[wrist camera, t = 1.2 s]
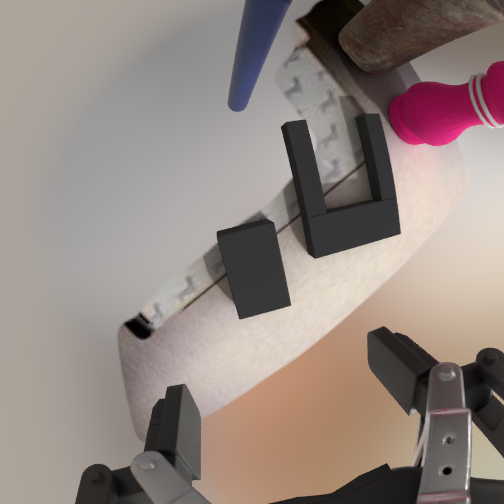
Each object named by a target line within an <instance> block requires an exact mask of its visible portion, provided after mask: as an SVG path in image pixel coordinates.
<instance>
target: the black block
mask: <svg viewBox="0 0 504 504" xmlns="http://www.w3.org/2000/svg"><path fill="white" fill-rule="evenodd" d="M217 240H218V244H219V247H220V251H221V255H222V259H223V262H224V266H225V270H226V273H227V277H228V281H229V284H230V288H231V292H232V295H233V299H234V302H235V306H236V309H237V313H238V316H239V319H244V318H248V317H251V316H255V315H259V314H263V313H266V312H270V311H273V310H277V309H280V308H284V307H287V306H291V302H290V297H289V292H288V287H287V282H286V277H285V272H284V267H283V263H282V258H281V253H280V248H279V244H278V239H277V234H276V230H275V225H274V222H272V221H270V220H268V219H264V220H260V221H256V222H252V223H248V224H244V225H240V226H236V227H232V228H228V229H224V230H221V231H217Z"/></svg>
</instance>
